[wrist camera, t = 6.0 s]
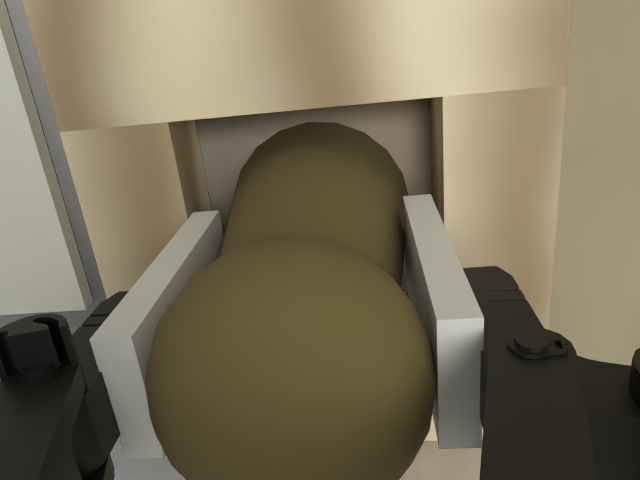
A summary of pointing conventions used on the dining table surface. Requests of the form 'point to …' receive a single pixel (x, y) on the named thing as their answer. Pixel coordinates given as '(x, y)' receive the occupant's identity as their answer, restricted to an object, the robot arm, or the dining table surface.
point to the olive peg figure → (298, 325)
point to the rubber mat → (31, 203)
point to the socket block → (308, 93)
